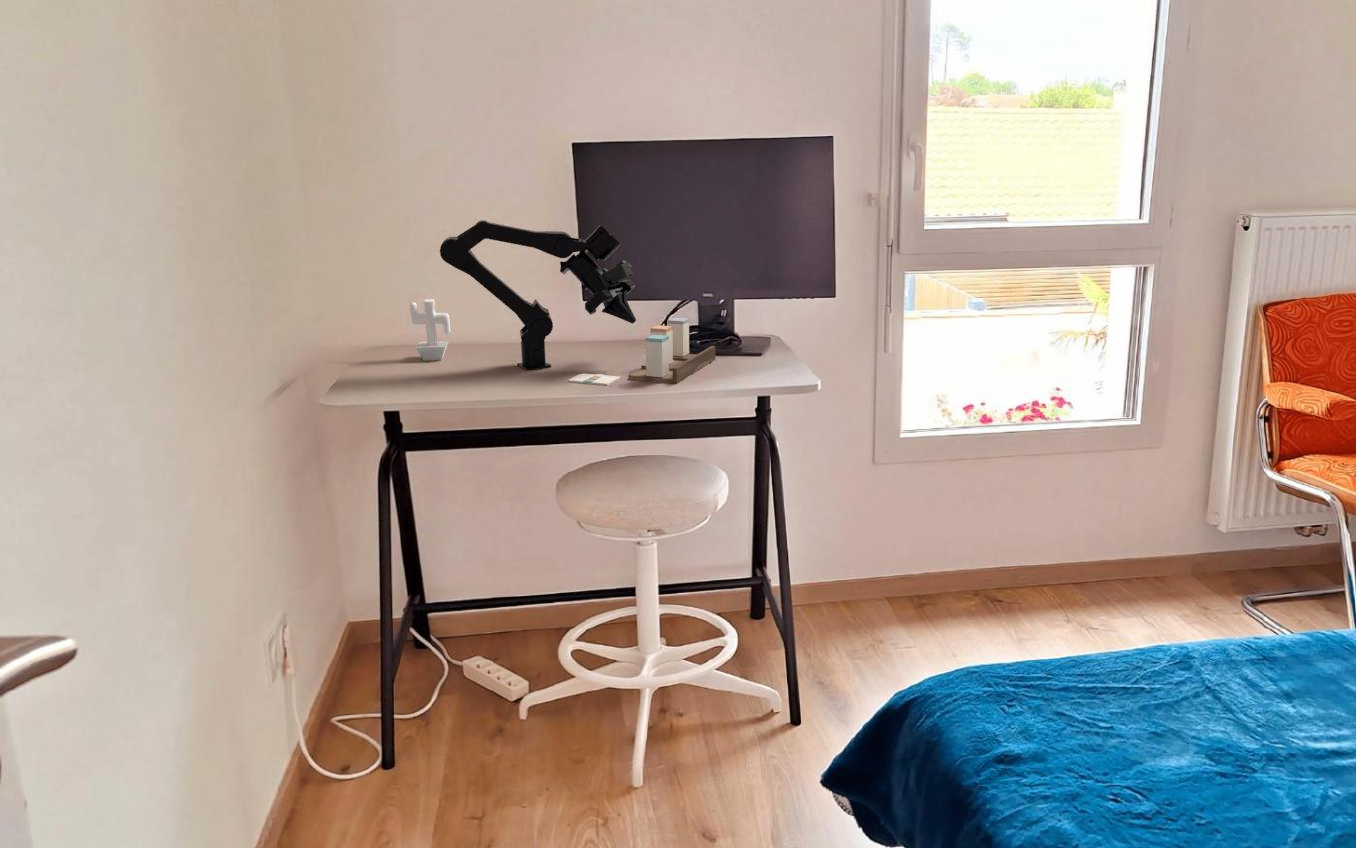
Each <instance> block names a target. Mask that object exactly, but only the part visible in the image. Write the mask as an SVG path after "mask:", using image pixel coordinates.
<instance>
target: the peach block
mask: <svg viewBox="0 0 1356 848" xmlns="http://www.w3.org/2000/svg"><path fill="white" fill-rule="evenodd" d="M651 335H664V336H669V364H671V363H673V326H668V325H658V324H657V325H655V326H652V327H651V328H650V336H651Z"/></svg>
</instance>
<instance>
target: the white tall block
mask: <svg viewBox="0 0 1356 848" xmlns="http://www.w3.org/2000/svg"><path fill="white" fill-rule="evenodd" d="M645 366H646V376H653V377H664V376H666V375H667V374H669V336H664V335H651V334H650V335H649V336H647V337H645Z"/></svg>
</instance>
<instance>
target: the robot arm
mask: <svg viewBox="0 0 1356 848" xmlns="http://www.w3.org/2000/svg"><path fill="white" fill-rule="evenodd" d="M484 240H491V241H497V242H501V243H503V242H504V243H506V244H513V245H518V246H523V247H527V248H532V249H536V250H539V251H541V252H543V253H545V254H548V255H551V256H553V257H557V258H559V259H566V260H565V261H560V262H559V264H560V270H559V272H560V273H561V274H563V275H565V274H567V273H568V272H569V271H570V273H572V275H574V276H575V277H576V278H577V280H578V281H579V282H580V283H581V285H582V286H581V289H583V291H586V290H588V291H589V293H590V294H591V296H590V297H589V298H588V299H587V300H586V301H585V303H584V309H585V311H586V312H587V313H588V314H589V315H594V314H595V313H596V312H597V308H598V307H599V306H601V304H603V305H602V306H603V307H604V308H603V309H602V310H601V313H603V314H608V315H611V316H613V317H616V318H619V319H621V320H623V321H625V322H628V323H630V324H635V322H636V321H637V318H636V317H635V315H634V313H633V311H632V309H631V306H630V305H629V302H628V294H629V293H630V292H632V290H633V289H634V288H635V286H636V284H635V283H634V282H633V281H632V280H631V279H625V278H627V277H631V276H632V275H634V273H633V271H632V268H633V265H632V264H631V263H629V261H626V260H620V261H619V262H617V263H616V266H615V267H613V268H611V269H609V270H608V268H606V267H603V268H601V267H600V266H599V265H598V264H597V263H596V262H595V261H594V260H593V259H592V257H590V255H591V256H593V258H594V259H595V260H596V261H598V262H599V260H600V261H604V262H605V261H606V260H607V259H608V258H609V257H610V256H611V255H612V254H613V253H614V252H615V251H616V250H617V249H618V248H619V247H620V246H621V243H620V242H619V240H617V239H616V238H615V236H613V235H612V234H611V233H610V232H608V230H607V229H606V228H605V227H604V226H602V224H599V225H598V226H597V227H596V228H595V229H594V231H593V232H592V233H591V234H589V236H588V237H586V239H582V238H581V237H580V238H577V237H572V236H571V235H570V234H569V233H567V232H566V231H565V232H564V231H561V230H560V231H558V230H555V231H554V230H553V231H552V230H551V231H548V230H547V231H539V230H538V231H536V230H530V229H524V228H520V227H515V226H509V225H504V224H500V223H499V224H498V223H495V222H489V221H487V220H485V219H484V220H483V219H481V220H478V221H477V222H476V223H475V224H474V225H472V226H471V227H469V228H468V229H467V230H465V231H463V232H462V233H459V235H457V236H449V237H446V238H445V239H443V241H442V243H441V244H440V248H439V254H440V257H441V260H443V261H444V262H445V263H446V264H448V265H450V266H451V267H454V268H455V269H457V270H459V271H460V272H463V273H465V274H467V275H469V276H470V277H472V278H473V279H474V280H475V281H476V282H477V283H478V284H479V285H481V286H482V287H483V288H484V289H486V290H487V291H488V292H489V293H491V294H492V295H493V296H494V297H495V298H497V299H498V300H499V301H500V302H501V303H503V304H504V305H505V306H506V307H507V308H509V309H510V310H511V311H512V312H514V314H515V315H516V316H517V317H518V319H519V320H520V321H521V322H522V324H523V325H524V326H522V328H521V329H520V330H519V335H520V340H521V341H520V346H521V347H520V348H521V349H520V350H521V351H520V352H521V362H517V363H516V366H517V367H520V368H522V369H523V370H526V371H531V370H538V369H545V368H551V367H552V364H550V363H547V361H546V341H545V340H546V338H547V337H548V336H549V335H550V334H551V333H552V331H553V328H554V323H553V319H552V318H551V315H550V314H551V313H550V311H549V309H548V308H546V307H544V306H542V305H541V304H540V302H539V301H538V300H537V299H536V298H535V299H534V300H533V302H530V301H528V300H526V299H524V297H522V296H520V295H519V294H518V293H517V292H516V291H515V290H513V289H512V288H511V287H510V286H508V284H506V283H505V282H504V281H503V280H501V278H499V277H498V276H497V275H496V274H495V273H493V272H492V270H490V269H489V268H487V266H485V265H484V264H482V263H481V262H480V260H479V259H478V258H477V257H476V255H475V254H474V253H473V252H472V250H471V249H473V248H474V247H476V246H477V245H479V244H480V243H481V242H482V241H484ZM578 252H579V253H578ZM588 252H589V254H590V255H589V254H588ZM575 253H578V254H575ZM567 258H568V259H567ZM622 279H623V280H622ZM620 280H621V281H620Z"/></svg>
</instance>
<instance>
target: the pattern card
mask: <svg viewBox="0 0 1356 848" xmlns="http://www.w3.org/2000/svg"><path fill="white" fill-rule="evenodd" d="M621 379H622V378H621V376H618V375H617V376H614V375H606V374H601V373H600V374H599V373H597V374H593V373H580V374H577V375H575V376H573V377H571V378H569V379H568V380H567V382H568V383H577V384H589V385H597V386H599V385H600V386H609V385H611V384H613V383H615V382H617V381H619V380H621Z"/></svg>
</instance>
